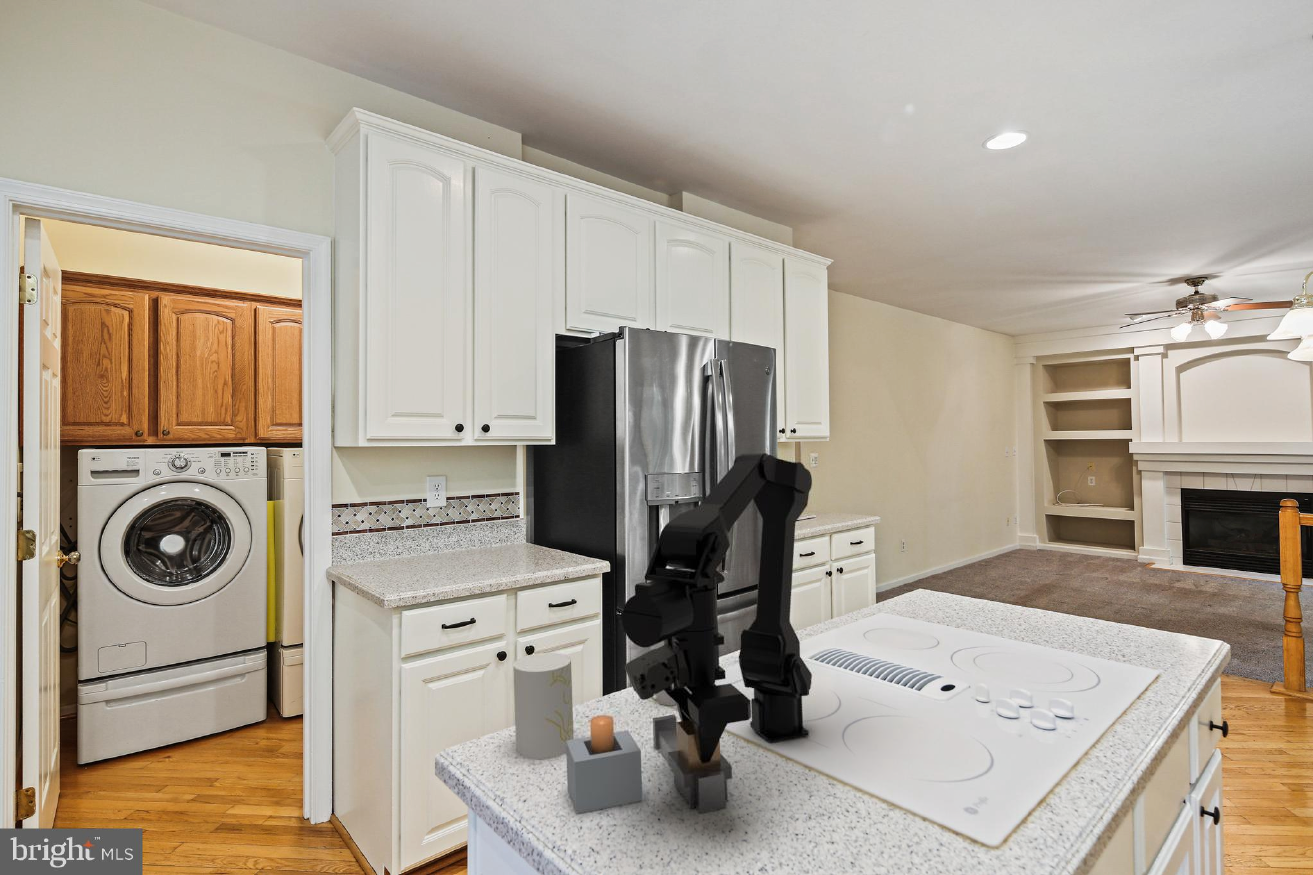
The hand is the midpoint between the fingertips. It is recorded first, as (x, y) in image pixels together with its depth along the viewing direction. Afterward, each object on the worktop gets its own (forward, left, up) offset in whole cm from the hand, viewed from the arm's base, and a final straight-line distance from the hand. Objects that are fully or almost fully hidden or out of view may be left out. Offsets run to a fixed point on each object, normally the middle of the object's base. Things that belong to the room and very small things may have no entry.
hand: (698, 753), depth 80 cm
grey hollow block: (+11, -4, -5) cm, 13 cm away
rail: (0, -5, -5) cm, 7 cm away
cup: (+16, -20, -5) cm, 26 cm away
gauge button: (+11, -4, +1) cm, 12 cm away
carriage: (0, 0, -5) cm, 5 cm away
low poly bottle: (-6, -29, -5) cm, 30 cm away
